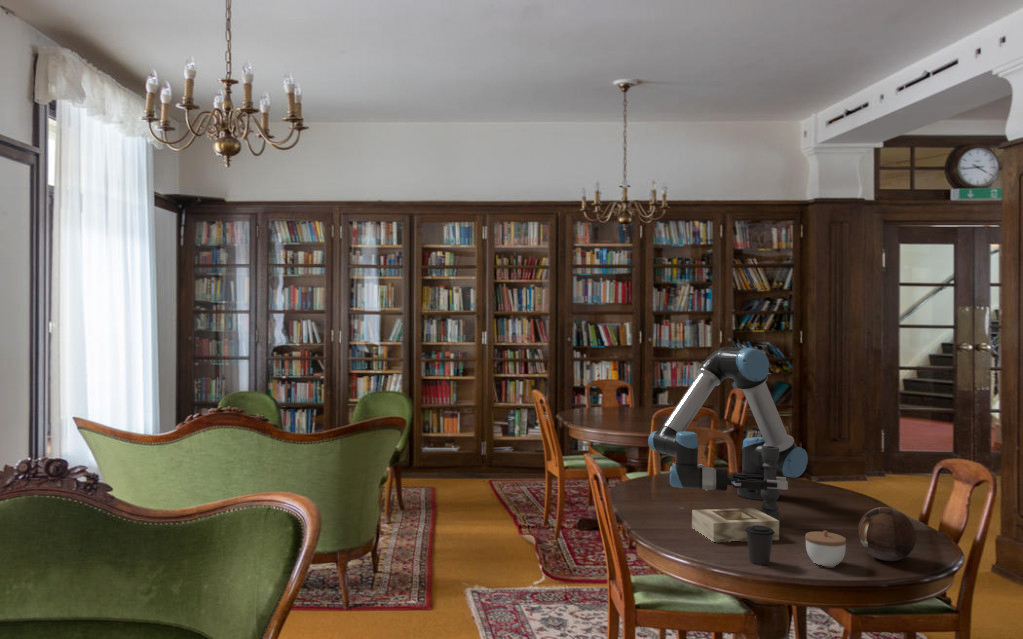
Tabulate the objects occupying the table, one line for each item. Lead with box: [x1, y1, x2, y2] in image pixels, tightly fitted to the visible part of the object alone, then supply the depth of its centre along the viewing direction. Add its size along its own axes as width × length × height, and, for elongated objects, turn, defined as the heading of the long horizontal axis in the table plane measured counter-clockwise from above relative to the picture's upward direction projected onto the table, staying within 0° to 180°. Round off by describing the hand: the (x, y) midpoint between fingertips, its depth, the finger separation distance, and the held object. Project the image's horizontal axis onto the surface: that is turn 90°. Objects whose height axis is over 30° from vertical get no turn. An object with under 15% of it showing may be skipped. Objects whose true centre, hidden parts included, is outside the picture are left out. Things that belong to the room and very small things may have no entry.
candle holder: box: [759, 446, 780, 521], centre depth 250 cm, size 6×6×25 cm
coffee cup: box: [745, 525, 775, 566], centre depth 209 cm, size 8×8×10 cm
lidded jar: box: [804, 530, 847, 567], centre depth 208 cm, size 11×11×9 cm
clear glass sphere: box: [857, 506, 917, 562], centre depth 213 cm, size 15×15×15 cm
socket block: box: [691, 507, 780, 543], centre depth 237 cm, size 22×16×6 cm
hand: (786, 483), depth 249 cm, fingers closed on candle holder, 5 cm apart
